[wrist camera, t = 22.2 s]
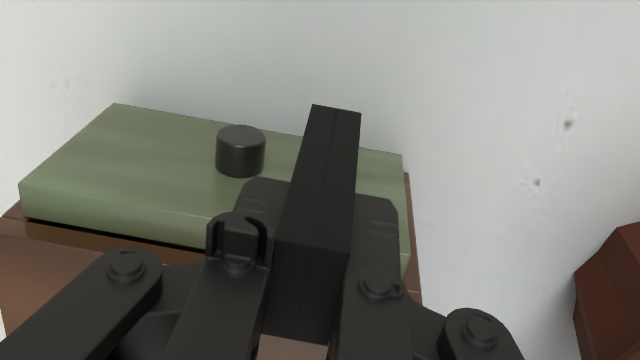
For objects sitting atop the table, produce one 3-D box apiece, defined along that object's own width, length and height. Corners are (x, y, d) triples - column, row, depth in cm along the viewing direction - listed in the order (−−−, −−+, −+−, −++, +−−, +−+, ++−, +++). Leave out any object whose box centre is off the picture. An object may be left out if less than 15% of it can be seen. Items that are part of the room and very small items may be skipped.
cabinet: (110, 118, 22) (-18, 231, 15) (409, 172, 22) (424, 312, 15) (123, 357, 29) (43, 508, 22) (346, 398, 29) (336, 563, 22)
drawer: (111, 72, 20) (9, 145, 14) (410, 126, 20) (422, 220, 14) (126, 342, 27) (62, 458, 22) (342, 382, 27) (333, 509, 22)
